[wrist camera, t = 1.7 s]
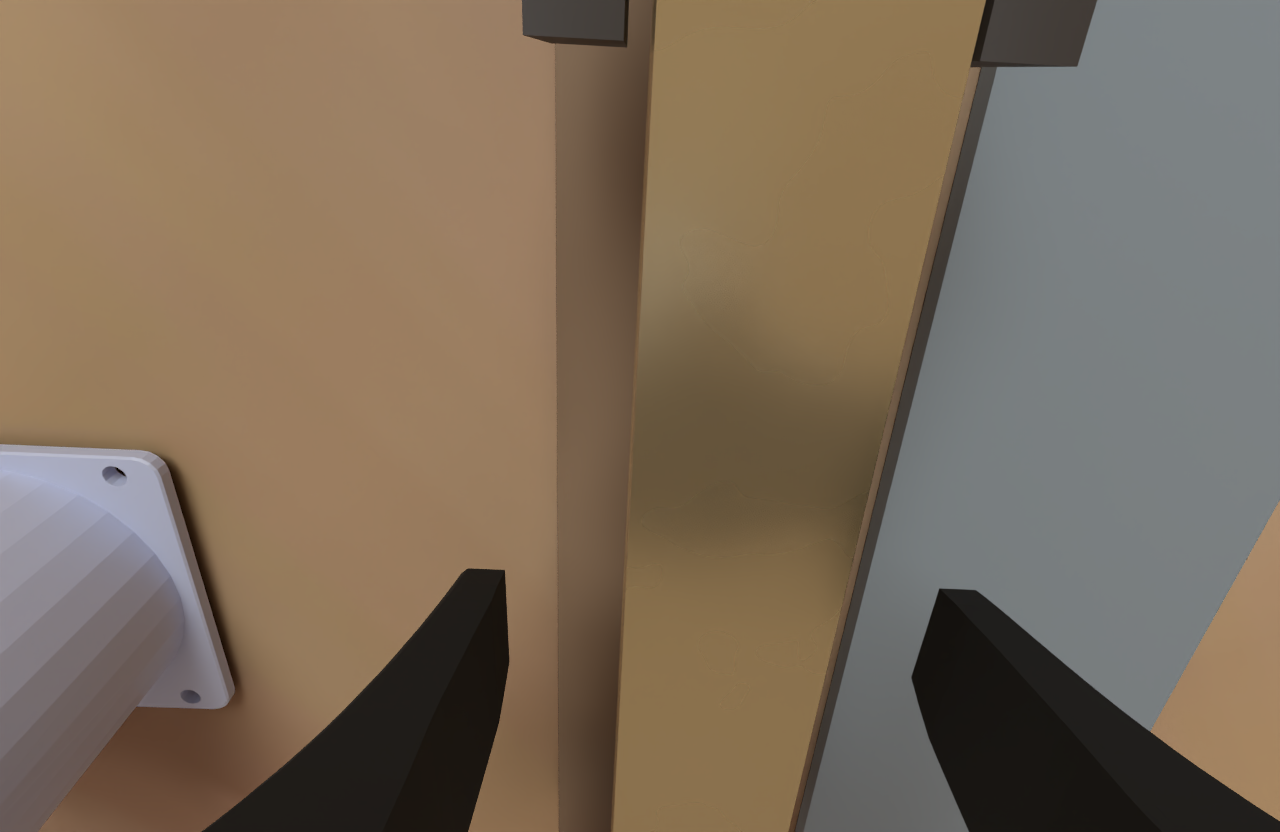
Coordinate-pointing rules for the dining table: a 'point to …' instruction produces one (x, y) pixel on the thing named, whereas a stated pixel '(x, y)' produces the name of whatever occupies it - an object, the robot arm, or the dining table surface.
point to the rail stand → (606, 330)
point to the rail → (765, 373)
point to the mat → (1078, 388)
